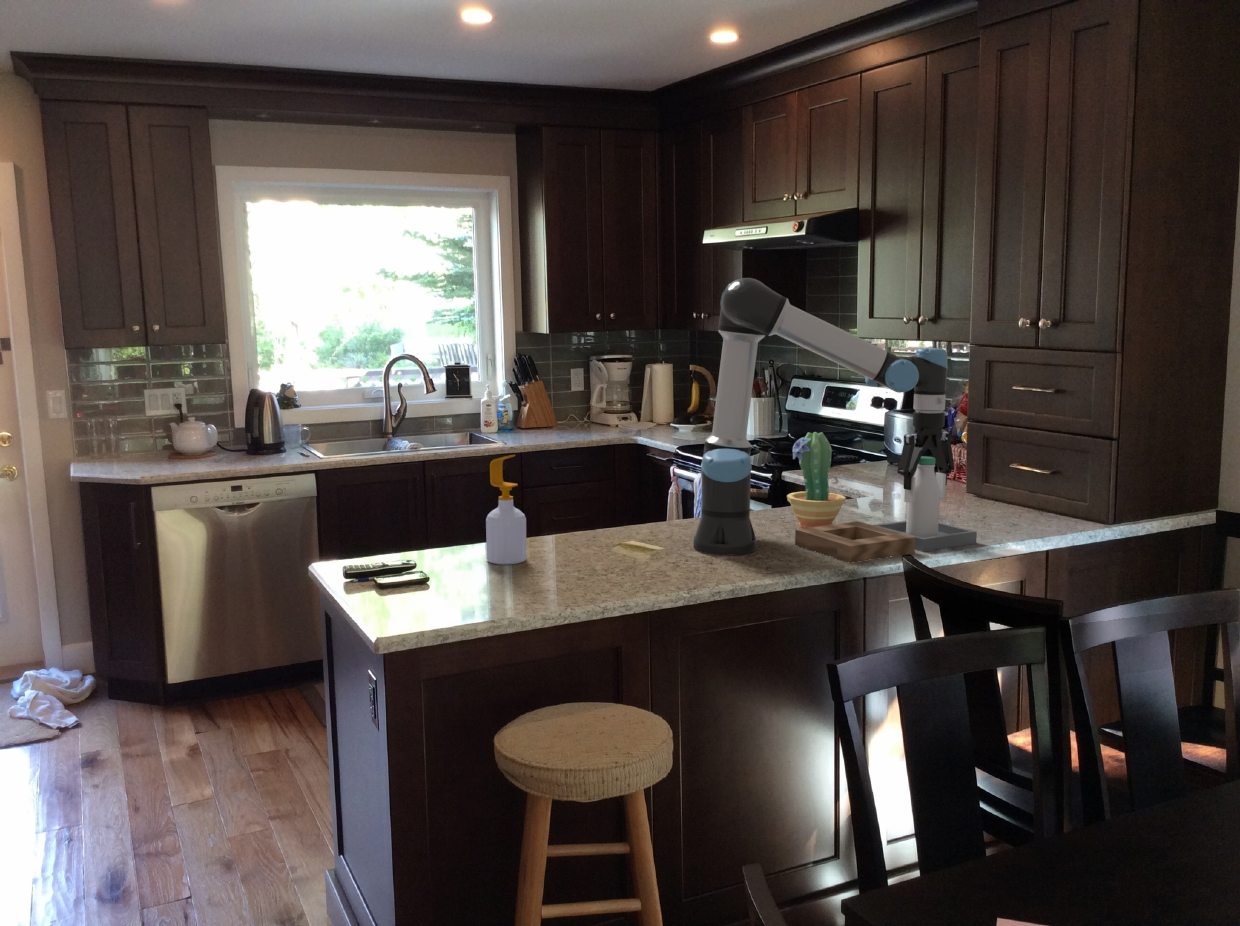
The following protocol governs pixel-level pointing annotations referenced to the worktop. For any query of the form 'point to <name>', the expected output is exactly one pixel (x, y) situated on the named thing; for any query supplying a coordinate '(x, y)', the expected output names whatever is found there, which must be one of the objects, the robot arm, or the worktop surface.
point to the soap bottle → (505, 523)
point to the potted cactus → (815, 483)
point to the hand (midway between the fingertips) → (924, 500)
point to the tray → (945, 538)
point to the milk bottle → (924, 501)
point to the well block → (855, 541)
